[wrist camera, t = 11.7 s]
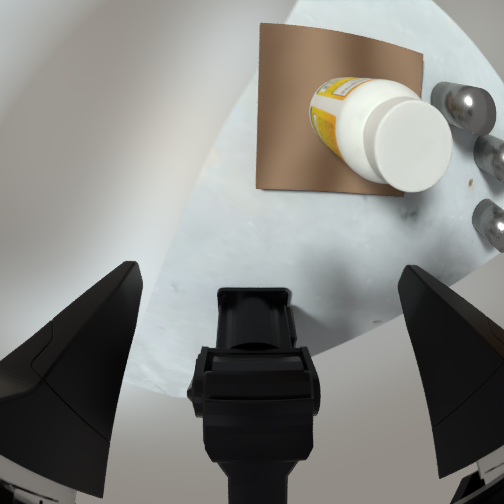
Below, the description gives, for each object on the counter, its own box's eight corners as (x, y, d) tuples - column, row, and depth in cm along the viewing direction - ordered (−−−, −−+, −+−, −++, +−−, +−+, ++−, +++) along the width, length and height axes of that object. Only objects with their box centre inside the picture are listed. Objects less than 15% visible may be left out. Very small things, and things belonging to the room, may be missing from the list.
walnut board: (255, 184, 21) (256, 188, 21) (259, 25, 15) (260, 22, 14) (399, 193, 22) (403, 196, 21) (417, 54, 15) (423, 54, 14)
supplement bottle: (324, 64, 16) (391, 55, 8) (390, 99, 17) (479, 125, 9) (295, 133, 18) (336, 178, 10) (361, 161, 19) (430, 223, 11)
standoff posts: (475, 235, 24) (498, 258, 20) (423, 92, 17) (458, 100, 13) (508, 205, 22) (533, 226, 18) (466, 65, 15) (502, 69, 11)
